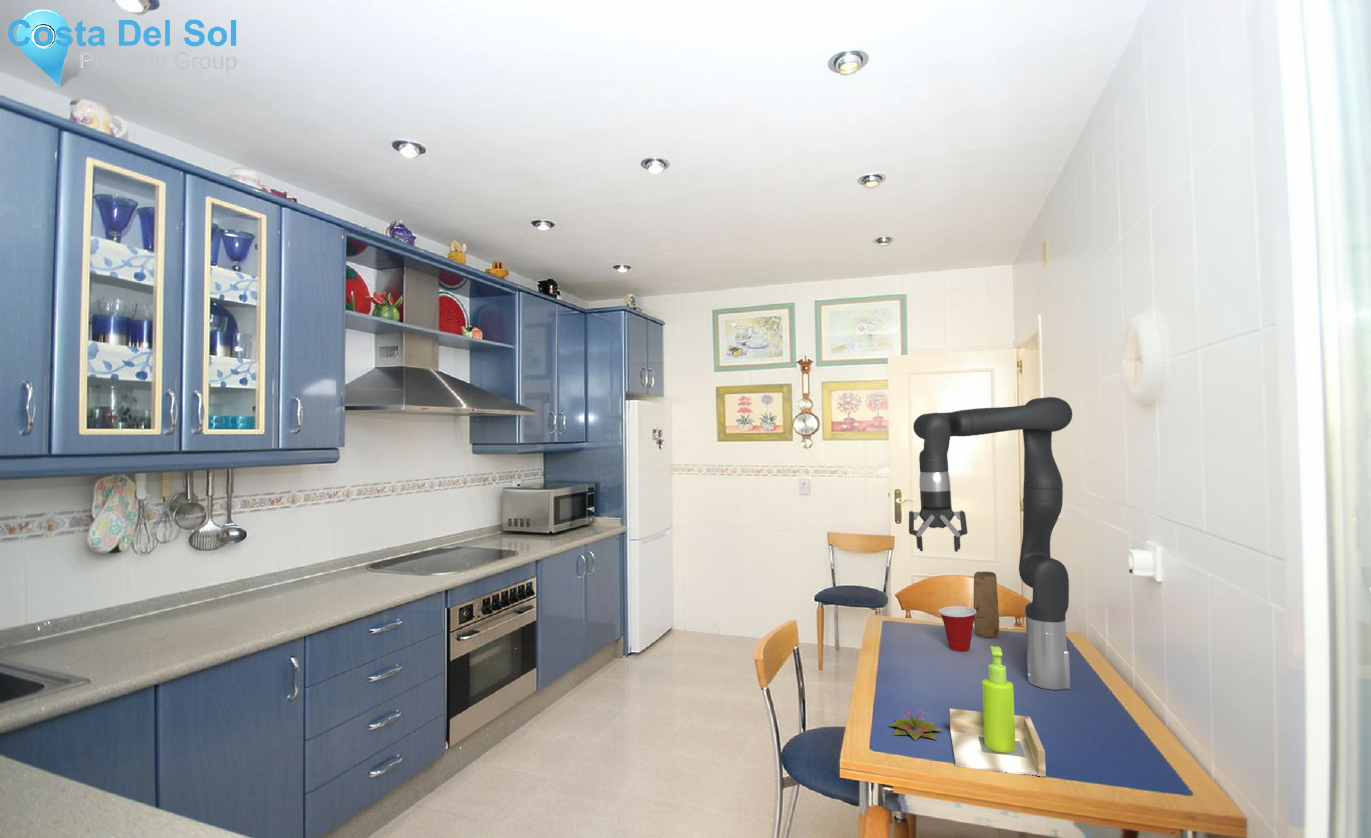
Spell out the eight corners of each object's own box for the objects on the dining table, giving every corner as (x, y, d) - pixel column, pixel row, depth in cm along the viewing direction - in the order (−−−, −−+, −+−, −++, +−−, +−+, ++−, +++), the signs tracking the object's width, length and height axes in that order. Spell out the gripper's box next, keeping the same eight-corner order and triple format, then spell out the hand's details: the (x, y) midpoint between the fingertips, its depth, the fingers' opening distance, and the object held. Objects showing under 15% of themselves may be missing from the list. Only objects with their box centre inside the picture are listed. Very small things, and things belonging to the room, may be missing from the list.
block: (999, 640, 207) (997, 577, 207) (974, 637, 210) (971, 575, 211) (999, 630, 216) (997, 570, 217) (975, 628, 220) (973, 568, 220)
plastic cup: (935, 642, 205) (934, 604, 206) (971, 643, 204) (970, 605, 204) (944, 654, 195) (943, 613, 195) (982, 655, 193) (981, 614, 194)
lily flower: (886, 740, 142) (885, 719, 142) (887, 717, 153) (887, 698, 153) (945, 747, 138) (944, 725, 138) (942, 723, 149) (941, 703, 149)
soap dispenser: (1012, 739, 139) (1009, 645, 139) (1017, 754, 132) (1014, 655, 133) (982, 736, 140) (979, 642, 141) (986, 750, 134) (982, 652, 135)
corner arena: (1030, 740, 139) (1029, 716, 139) (1045, 777, 124) (1044, 751, 124) (950, 731, 144) (949, 708, 145) (955, 766, 129) (954, 740, 129)
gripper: (906, 490, 169) (910, 553, 168) (965, 489, 165) (969, 553, 164) (906, 488, 176) (909, 548, 175) (962, 487, 172) (966, 548, 171)
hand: (938, 550), depth 170 cm, fingers open, 8 cm apart
